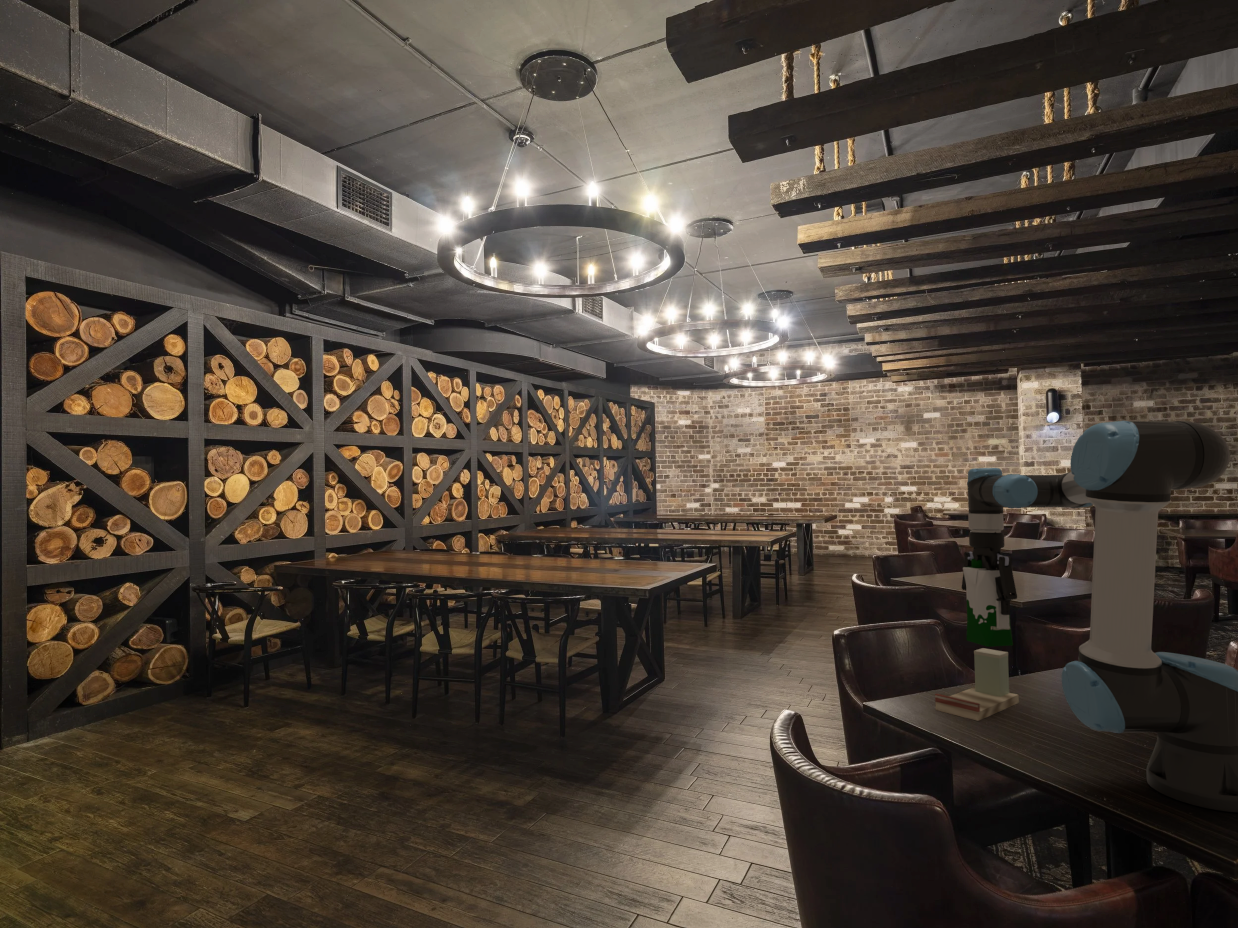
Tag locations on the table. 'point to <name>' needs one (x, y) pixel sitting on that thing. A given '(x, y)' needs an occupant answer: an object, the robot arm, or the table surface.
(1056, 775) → the table surface
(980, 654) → the tea tin
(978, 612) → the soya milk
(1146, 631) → the robot arm
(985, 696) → the shelf board
